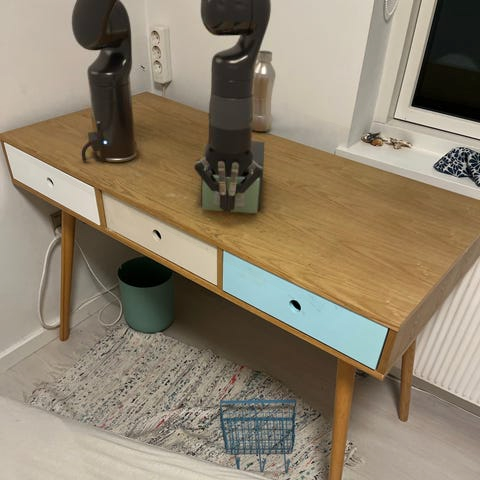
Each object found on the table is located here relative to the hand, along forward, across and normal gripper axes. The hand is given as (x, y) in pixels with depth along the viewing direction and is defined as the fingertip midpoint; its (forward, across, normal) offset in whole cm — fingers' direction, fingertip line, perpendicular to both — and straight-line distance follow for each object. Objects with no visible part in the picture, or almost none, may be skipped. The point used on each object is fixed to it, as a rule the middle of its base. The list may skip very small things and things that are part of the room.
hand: (227, 210), depth 98 cm
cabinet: (+4, 0, -17) cm, 17 cm away
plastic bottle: (+4, -5, -56) cm, 57 cm away
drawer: (+4, 0, -10) cm, 11 cm away
